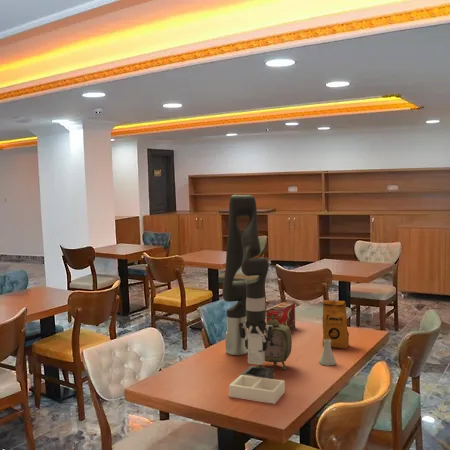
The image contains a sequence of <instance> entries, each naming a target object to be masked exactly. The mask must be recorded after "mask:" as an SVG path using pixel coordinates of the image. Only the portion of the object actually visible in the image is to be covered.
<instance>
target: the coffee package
mask: <svg viewBox="0 0 450 450" xmlns="http://www.w3.org/2000/svg"><path fill="white" fill-rule="evenodd" d="M321 319H322V334H323V335H322V347H324V340H326V339H328V340H331V343H330V344H331V348H334V349H342V350H343V349H345V350H346V349H347V348H348V347H349V345H350V344H349V342H350V341H349V339H350V337H349V336H350V333H349V330H348V315H347V304H346V301H345V300H329V299H327V300H326V299H322V318H321Z"/></svg>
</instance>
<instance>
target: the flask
mask: <svg viewBox="0 0 450 450" xmlns="http://www.w3.org/2000/svg"><path fill="white" fill-rule="evenodd" d="M330 343H331V340H328V339H326V340H324V346H323V349H322V350H323V351H322V353H321V356H320V358H319V360H318V363H319V364H320V365H322V366H327V367H328V366H335V365H336V364H337V361H336V358H335V355H334V353H333V350H332V347H331V344H330Z"/></svg>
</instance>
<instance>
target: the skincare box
mask: <svg viewBox="0 0 450 450" xmlns="http://www.w3.org/2000/svg"><path fill="white" fill-rule="evenodd" d="M262 334H263V333H262ZM265 362H266V361H265V351H263V337H260V335H259V334H256V333H250V334H249V333H248V349H247V364H251V365H257V366H258V365H262V366H263V364H264V363H265Z"/></svg>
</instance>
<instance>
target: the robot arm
mask: <svg viewBox="0 0 450 450" xmlns="http://www.w3.org/2000/svg"><path fill="white" fill-rule="evenodd" d="M256 201H257V200H256V199H255V196H254V195H252V194H232V195H231V196H230V198H229V203H228V230H227V231H228V233H227V241H226V251H225V252H226V253H225V254H226V255H225V270H224V276H223V282H222V283H223V284H222V290H221V291H222V294H221V295H222V299H223V300H224V302H226V303H227V302H228V303H229V302H230V303H231V302H236V303H235V304H234V305H233V306H230V307H229V308H227V310H226V312H225V313H226V332H225V333H224V334H225V338H224V339H225V354H229V355H232V356H243V355H246V354H248V333H249V334H250V333H256V334H259V335H260V337H263V351H266V350H267V348H268V346H267V345H268V344H267V342H268V341H270V340H271V339H272V336H273V325H267V324H266V316H265V311H266V308H267V307H266V299H265V285H266V278H267V276H268V272H269V267H270V266H269V265H270V264H269V261H268V259H267V258H266V257H262V256H260V257H258V256H259V255H260V254H261V252H262V250H261V249H262V247H261V244H260V238H259V233H258V231H259V230H258V214H257V213H258V212H257V209H258V208H257V202H256ZM238 217H241V218H243V217H244V218H245V217H246V218H247V217H248V219H249V220H248V222H247V224H246V226H245V228H244V229H243V231H242V230H241V229H240V226H239V224H238ZM240 269H241V272H242V274H243V275H244V276H246V277H256V276H257V278H256V279H254V280H251V281H249V282H247V283H246V281H245V280H234V278H235V276H236V274H237V273H238V271H239V270H240ZM265 328H267V331H268V337H267V336H266V332H265V330H264V329H265ZM262 333H263V334H262Z"/></svg>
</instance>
